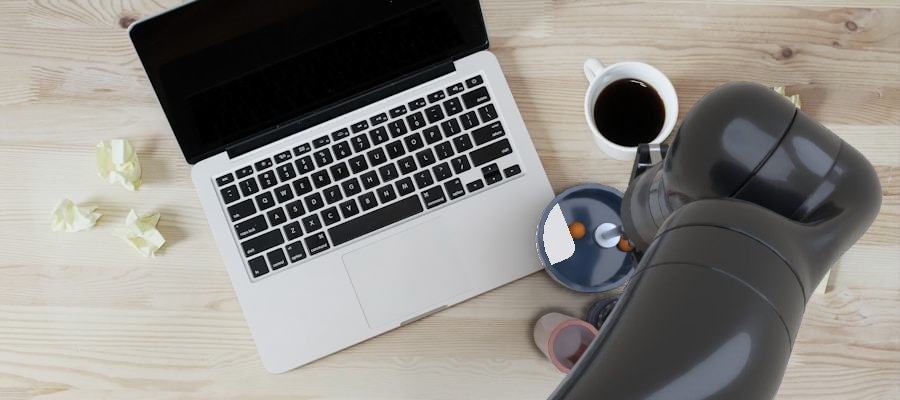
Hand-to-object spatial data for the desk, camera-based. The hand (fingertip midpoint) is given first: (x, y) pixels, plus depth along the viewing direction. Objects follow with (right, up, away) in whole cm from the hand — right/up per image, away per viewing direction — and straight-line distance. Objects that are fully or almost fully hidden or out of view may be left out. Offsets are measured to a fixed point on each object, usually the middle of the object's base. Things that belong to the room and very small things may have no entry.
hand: (633, 225), depth 72 cm
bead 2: (+3, -2, +14) cm, 15 cm away
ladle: (0, -2, +15) cm, 15 cm away
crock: (-6, -13, +15) cm, 21 cm away
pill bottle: (+1, -12, +15) cm, 19 cm away
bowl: (-2, -2, +16) cm, 16 cm away
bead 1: (-3, -1, +15) cm, 15 cm away
